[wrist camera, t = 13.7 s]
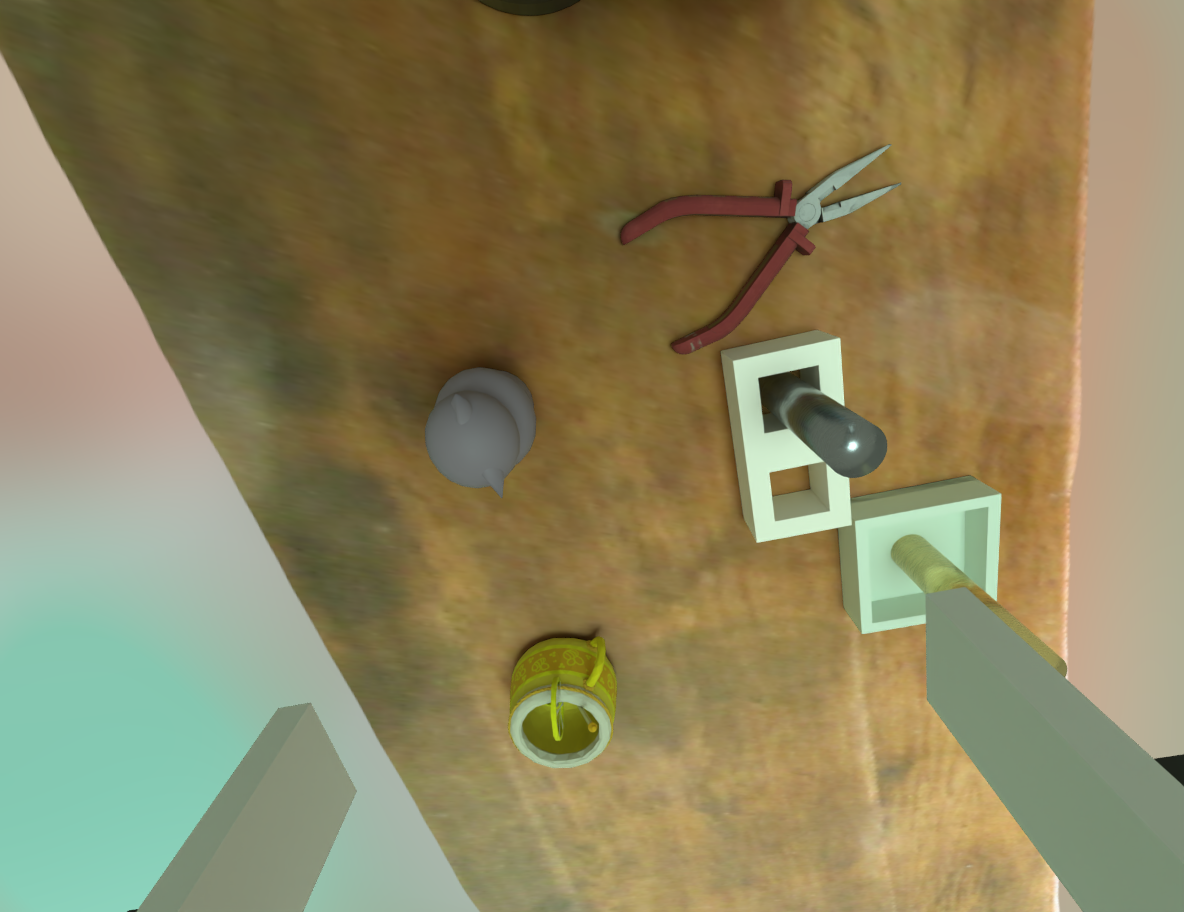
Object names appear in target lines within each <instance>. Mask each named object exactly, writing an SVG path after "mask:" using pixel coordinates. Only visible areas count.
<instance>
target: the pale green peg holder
mask: <svg viewBox="0 0 1184 912" xmlns="http://www.w3.org/2000/svg"><path fill="white" fill-rule="evenodd" d="M720 352H721V359H722V366H723V373H724V381H725V388H726V395H727V402H728V409H729V416H730V424H731V431H732V438H733V445H734V452H735V459H736V467H737V474H738V481H739V488H740V495H741V502H742V510H743V517H744V520H745V522H746V524H747V525H748V527H749V529H750V531H751V533H752V535H753V536H754V538H755V540H756V542H757V543H758V542H763V541H769V540H774V539H780V538H785V537H790V536H796V535H801V534H806V533H812V532H817V531H822V530H828V529H833V528H838V527H844V526H849V525H852V521H851V505H850V489H849V478H848V477H844V476H841V475H839V474H837V473H836V472H835V471H834V470H833V469H831V468H830V467H829V466H828V465H827V464H826V463H825V462H824V461H823V460H822V459H821V458H820V457H818V456H817V455H816V454H815V453H814V452H813V451H812V450H811V449H810V448H809V447H808V446H807V445H806V444H804V443H803V442H802V441H801V440H800V439H799V438H798V437H797V436H796V435H795V434H794V433H793V432H791V431H790V430H789V429H788V428H787V427H786V426H785V425H784V424H783V423H782V422H781V421H780V420H778V419H777V418H776V417H775V416H774V415H773V414H772V413H769V414H764V415H762V408H761V399H760V391H759V382H758V378H760V377H764V376H769V375H774V374H779V373H783V372H788V371H793V370H797V369H800V379H801V380H803V381H805V382H806V383H808V384H809V385H811V386H813V387H814V388H816V389H817V390H819V391H821V392H822V393H824V394H825V395H827V396H829V397H830V398H832V399H833V400H835V401H837V402H838V403H840V404H841V405H843V406H844V393H843V377H842V361H841V345H840V338H839V337H836V336H833V335H830V334H828V333H825V332H822V331H819V330H814V331H809V332H805V333H800V334H796V335H791V336H786V337H782V338H777V339H773V340H768V341H763V342H759V343H754V344H750V345H745V346H740V347H736V348H731V349H727V350H722V351H720ZM804 465H808V469H809V480H810V489H809V490H804V491H799V492H793V493H788V494H783V495H778V496H773V497H772V493H771V485H770V476H769V472H773V471H779V470H784V469H789V468H794V467H799V466H804Z"/></svg>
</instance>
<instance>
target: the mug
mask: <svg viewBox="0 0 1184 912" xmlns="http://www.w3.org/2000/svg"><path fill="white" fill-rule="evenodd" d="M605 653H606V647H605V640H604V639H603V638H602V637H599V636H598V637H595V638H594V639H593V640H592V641H591V640H588V641H585V640H580V639H576V638H552V639H549V640H546V641H543V642H539V643H537V644H536V645H534V646H533V647H531V648H530V649H528V650H527V651H526V652H525V654H524V655H523V656H522V657H521V658H520V659H519V661H518V663H517V664H516V666H515V668H514V671H513V675H512V679H511V688H510V716H509V723H508V730H509V732H508V733H509V734H510V737H511V739H512V741H513V743H514V745H515V746H516V748H518V750H519V751H520V752H521V753H522V754H523V755H525V756H526V757H528V758H529V759H531V760H532V761H534V762H535V763H538V764H541V765H545V766H548V767H552V768H572V767H576V766H579V765H582V764H585V763H588V762H590V761H591V760H593V759H595V758H596V757H597V756H599V755H600V754H601V753H602V752H603V751H604V750H605V748H606V747H607V746H608V744H609V743H610V740H611V739H612V735H613V721H614V716H615V709H616V695H617V682H616V675H615V672H614V670H613V667H612V665H611V663H610V661H609V660H608V658H607V657H606V656H605Z"/></svg>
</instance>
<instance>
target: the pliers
mask: <svg viewBox="0 0 1184 912" xmlns="http://www.w3.org/2000/svg"><path fill="white" fill-rule="evenodd" d="M890 146H891V144H889V145H887V146H885V147H883V148H881V149H879V150H877V151H875V152H873V153H871V154H869V155H867V156H865V157H863V158H861V159H859V160H857V161H855V162H853V163H851V164H849V165H847V166H845V167H843V168H841V169H839V170H837V171H835V172H833V173H832V174H830V175H829V176H827V177H826V178H825V179H823V180H822V181H821V182H819V183H818V184H817V185H815V186H814V187H813V188H811V189H810V190H809V191H808V192H806V195H805V196H804V197H803V198H801V199H800V200H798V201H797V199H791V192H792V181H791V180H780V181H778V182H776V184H775V192H774V197H754V196H717V195H688V196H679V197H674V198H670V199H667V200H664V201H662V202H660V203H658V204H657V205H655V206H654V207H652V208H651V209H649V210H647V211H646V212H644V213H643V214H641V215H639V216H638V217H636V218H635V219H633V220H632V221H630V222H628V223H627V224H626V225H625V226H624V227H623V229H622V231H621V241H622V243H623V245H625V244H626V243H628V242H630V241H632V240H633V239H635V238H637V237H638V236H640V235H642V234H644V233H645V232H647V231H648V230H650V229H652V228H653V227H655V226H657V225H658V224H660V223H662V222H664V221H666V220H669V219H672V218H675V217H680V216H688V215H705V216H739V217H775V218H788V222H789V224H788V226H787V227H786V229H785V230H784V231H783V233H782V234H781V235H780V237H779V238H778V240H777V241H776V242H775V244H774V245H773V247H772V248H771V249H770V251H769V252H768V254H767V255H766V256H765V258H764V259H763V261H762V262H761V263H760V265H759V266H758V268H757V269H756V270H755V272H754V273H753V275H752V276H751V277H750V279H749V280H748V282H747V283H746V284H745V286H744V287H743V289H742V290H741V291H740V293H739V294H738V296H737V297H736V298H735V300H734V301H733V303H732V304H731V305H730V306H729V308H728V309H727V310H726V311H725V312H724V313H723V314H722V315H721V316H720V317H719V318H718V319H716V320H715V321H714V322H712V323H711V324H709V325H707V326H706V327H704V328H702V329H699V330H697V331H695V332H693V333H691V334H689V335H687V336H685V337H683V338H681V339H679V340H677V341H675V342H673V343H671V345H672V348H673V349H674V350H675V351H676V352H677V353H679V354H689V353H691V352H693V351H696V350H698V349H700V348H702V347H705V346H707V345H709V344H711V343H713V342H716V341H718V340H720V339H722V338H724V337H725V336H727V335H728V334H729V333H731V332H732V331H733V330H734V329H735V328H736V327H737V326H738V325H739V324H740V323H741V322H742V321H743V319H744V318H745V317H746V316H747V315H748V313H749V312H750V311H751V309H752V308H753V307H754V305H755V304H756V302H757V301H758V300H759V298H760V297H761V296H762V294H763V293H764V291H765V290H766V289H767V287H768V286H769V285H770V283H771V282H772V281H773V279H774V278H775V276H776V275H777V274H778V272H779V271H780V270H781V268H782V267H783V265H784V264H785V263H786V261H787V260H788V259H789V257H790V256H791V254H792V253H793V252H794V250H795V249H796V250H797V251H798V252H800V253H801V254H802V255H810V254H811V253H812V252H813V250H814V249H815V245H814V244H813V243H811V242H810V241H809V240H808V239H806V238H805V236H806V235H807V233H808V232H809V231H808V230H807V229H808V228H809V227H811V226H812V225H813V224H816V223H820V222H825V221H828V220H832V219H835V218H838V217H841V216H844V215H847V214H850V213H852V212H853V211H855V210H857V209H859V208H860V207H862V206H864V205H866V204H867V203H869V202H871V201H873V200H874V199H876V198H878V197H880V196H881V195H883V194H885V193H887V192H888V191H890V190H892V189H894V188H895V187H897V186H899V185H901V183H898V184H895V185H891V186H888V187H885V188H882V189H879V190H875V191H872V192H869V193H866V194H862V195H859V196H856V197H853V198H850V199H846V200H843V201H840V202H837V203H833V204H831V205H830V206H827V207H824V208H821V206H820V201H821V200H823V199H824V198H825V197H826V196H828V195H829V194H830V193H831V192H833V191H834V190H837V189H838V188H839V187H841V186H842V185H843V184H844V183H846V182H847V181H848V180H849V179H851V178H852V177H853V176H854V175H856V174H857V173H858V172H859V171H860V170H862V169H863V168H864V167H865V166H867V165H868V164H869V163H870V162H872V161H873V160H874V159H875V158H876V157H878V156H879V155H880V154H881V153H883V152H884V151H885V150H886V149H887V148H889V147H890Z"/></svg>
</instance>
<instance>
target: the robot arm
mask: <svg viewBox="0 0 1184 912" xmlns="http://www.w3.org/2000/svg"><path fill="white" fill-rule="evenodd" d="M479 1H480V2H482V3H484V4H486V5H488V6H490V7H492V8H495V9H497V10H500V11H503V12H507V13H511V14H517V15H542V14H548V13H552V12H556V11H559V10H562V9H564V8H566V7H569V6H571V5H573V4H574V3H576V2H578V1H580V0H479ZM926 669H927V700H928V702H929V703H930V704H931V706H932V707H933V708H934V710H935V711H936V713H937V714H938V715H939V717H940V718H941V719H942V721H943V722H944V723H945V725H946V726H947V728H948V729H949V730H950V732H951V733H952V734H953V736H954V737H955V738H956V740H957V741H958V743H959V744H960V745H961V747H962V748H963V749H964V751H965V752H966V753H967V755H968V756H969V757H970V759H971V760H972V762H973V763H974V764H975V766H976V767H977V768H978V770H979V771H980V772H981V774H982V775H983V777H984V778H985V779H986V781H987V782H988V783H989V785H990V786H991V787H992V789H993V790H994V791H995V793H996V794H997V796H998V797H999V798H1000V800H1001V801H1002V802H1003V804H1004V805H1005V806H1006V808H1007V809H1008V811H1009V812H1010V813H1011V815H1012V816H1013V817H1014V819H1015V820H1016V821H1017V823H1018V824H1019V825H1020V827H1021V828H1022V830H1023V831H1024V832H1025V834H1026V835H1027V836H1028V838H1029V839H1030V840H1031V842H1032V843H1033V845H1034V846H1035V847H1036V849H1037V850H1038V851H1039V853H1040V854H1041V855H1042V857H1043V858H1044V860H1045V861H1046V862H1047V864H1048V865H1049V866H1050V868H1051V869H1052V870H1053V872H1054V873H1055V874H1056V876H1057V877H1058V879H1059V880H1060V881H1061V883H1062V884H1063V885H1064V887H1065V888H1066V889H1067V891H1068V892H1069V894H1070V895H1071V896H1072V898H1073V899H1074V900H1075V902H1076V903H1077V904H1078V906H1079V907H1080V908H1081V910H1082V911H1083V912H1184V755H1177V756H1171V757H1164V758H1157V759H1153V758H1152V757H1151V756H1150V755H1149V754H1148V753H1147V752H1146V751H1144V750H1143V749H1142V748H1141V747H1140V746H1139V745H1138V744H1137V743H1136V742H1135V741H1134V740H1132V739H1131V738H1130V737H1129V736H1128V735H1127V734H1126V733H1125V732H1124V731H1122V730H1121V729H1120V728H1119V727H1118V726H1117V725H1116V724H1115V723H1114V722H1113V721H1112V720H1111V719H1109V718H1108V717H1107V716H1106V715H1105V714H1104V713H1103V712H1102V711H1101V710H1100V709H1098V708H1097V707H1096V706H1095V705H1094V704H1093V703H1092V702H1091V701H1090V700H1089V699H1088V698H1086V697H1085V696H1084V695H1083V694H1082V693H1081V692H1080V691H1079V690H1078V689H1077V688H1075V687H1074V686H1073V685H1072V684H1071V683H1070V682H1069V681H1068V680H1067V679H1066V678H1065V677H1063V676H1062V675H1061V674H1060V673H1059V672H1058V671H1057V670H1056V669H1055V668H1054V667H1052V666H1051V665H1050V664H1049V663H1048V662H1047V661H1046V660H1045V659H1044V658H1043V657H1042V656H1040V655H1039V654H1038V653H1037V652H1036V651H1035V650H1034V649H1033V648H1032V647H1031V646H1029V645H1028V644H1027V643H1026V642H1025V641H1024V640H1023V639H1022V638H1021V637H1020V636H1019V635H1017V634H1016V633H1015V632H1014V631H1013V630H1012V629H1011V628H1010V627H1009V626H1008V625H1006V624H1005V623H1004V622H1003V621H1002V620H1001V619H1000V618H999V617H998V616H997V615H996V614H994V613H993V612H992V611H991V610H990V609H989V608H988V607H987V606H986V605H985V604H983V603H982V602H981V601H980V600H979V599H978V598H977V597H976V596H975V595H974V594H973V593H971V592H970V591H969V590H968V589H967V588H966V587H962V588H957V589H951V590H945V591H940V592H934V593H928V594H926ZM356 792H357V791H356V789H355V787H354V785H353V783H352V781H351V779H350V777H349V775H348V773H347V771H346V769H345V768H344V766H343V764H342V762H341V760H340V758H339V756H338V754H337V753H336V750H335V748H334V747H333V745H332V743H331V741H330V739H329V737H328V735H327V733H326V731H325V729H324V727H323V725H322V724H321V722H320V720H319V718H318V716H317V714H316V712H315V710H314V708H313V706H312V704H311V703H305V704H300V705H295V706H288V707H283V708H278V709H277V711H276V712H275V714H274V715H273V717H272V718H271V719H270V721H269V722H268V724H267V725H266V727H265V728H264V730H263V731H262V732H261V734H260V735H259V737H258V738H257V740H256V741H255V742H254V744H253V745H252V747H251V748H250V750H249V751H248V752H247V754H246V755H245V757H244V758H243V760H242V761H241V762H240V764H239V765H238V767H237V768H236V770H235V771H234V772H233V774H232V775H231V777H230V778H229V780H228V781H227V783H226V784H225V785H224V787H223V788H222V790H221V791H220V793H219V794H218V796H217V797H216V798H215V800H214V801H213V803H212V804H211V805H210V807H209V808H208V810H207V811H206V813H205V814H204V815H203V817H202V818H201V820H200V821H199V823H198V824H197V826H196V827H195V828H194V830H193V831H192V833H191V834H190V836H189V837H188V838H187V840H186V842H185V843H184V844H183V846H182V847H181V848H180V850H179V851H178V853H177V854H176V856H175V857H174V859H173V860H172V861H171V863H170V864H169V866H168V867H167V869H166V870H165V871H164V873H163V875H162V876H161V877H160V879H159V880H158V881H157V883H156V885H155V886H154V887H153V889H152V890H151V892H150V893H149V894H148V896H147V897H146V899H145V900H144V902H143V903H142V904H141V906H140V907H139V909H136V910H129V911H127V912H303V911H304V908H305V906H306V904H307V902H308V900H309V897H310V895H311V892H312V891H313V888H314V886H315V884H316V882H317V879H318V877H319V875H320V873H321V870H322V868H323V866H324V864H325V861H326V859H327V857H328V854H329V852H330V850H331V848H332V846H333V843H334V841H335V839H336V836H337V834H338V832H339V830H340V828H341V825H342V823H343V821H344V819H345V816H346V814H347V812H348V810H349V807H350V805H351V803H352V801H353V798H354V796H355V794H356Z"/></svg>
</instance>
